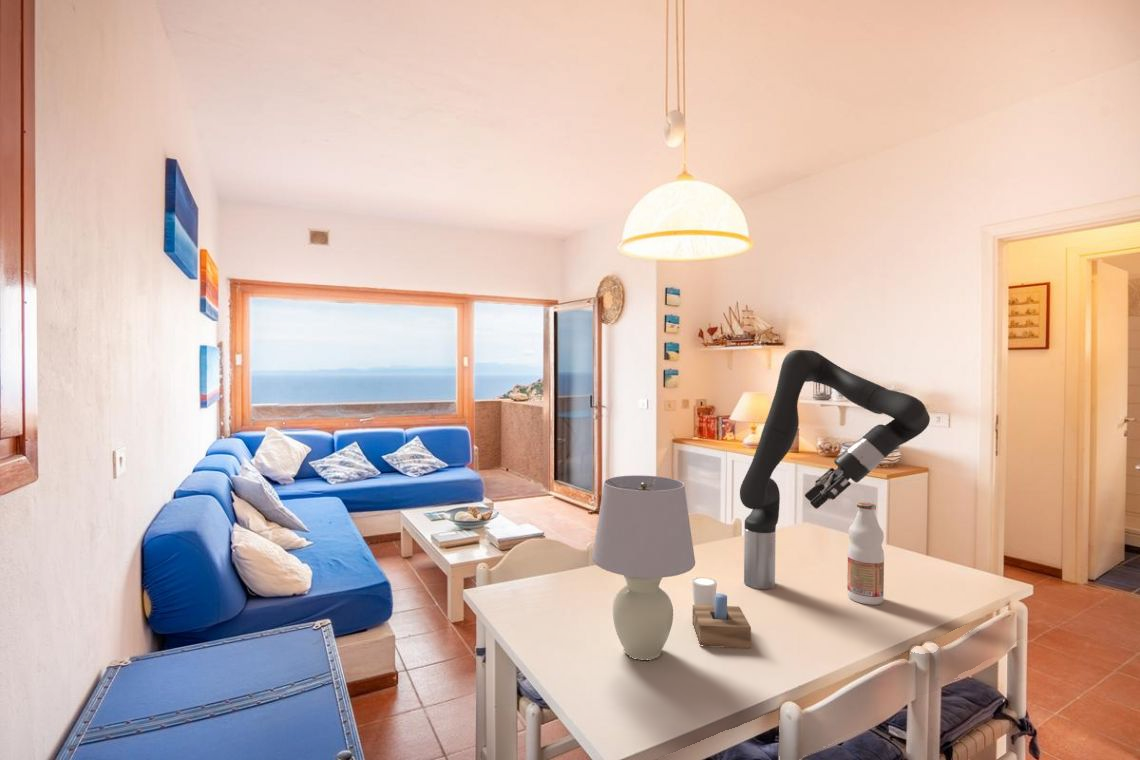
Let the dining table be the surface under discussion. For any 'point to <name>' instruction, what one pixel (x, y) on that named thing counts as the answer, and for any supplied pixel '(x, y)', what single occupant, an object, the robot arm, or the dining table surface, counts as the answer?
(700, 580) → the white cup
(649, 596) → the lamp
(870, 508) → the fruit juice
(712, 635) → the hole block
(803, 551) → the dining table surface
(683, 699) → the dining table surface
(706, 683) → the dining table surface
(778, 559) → the dining table surface
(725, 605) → the peg
